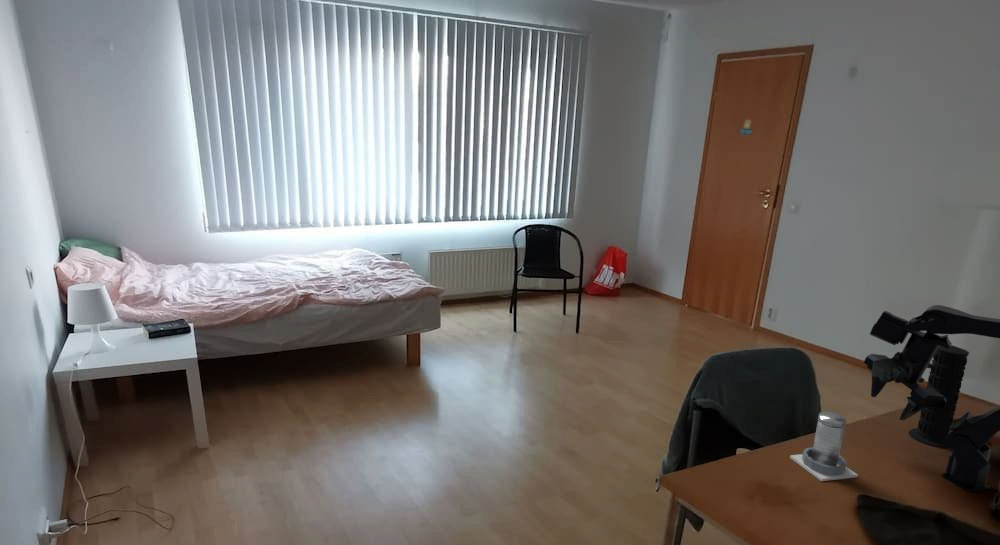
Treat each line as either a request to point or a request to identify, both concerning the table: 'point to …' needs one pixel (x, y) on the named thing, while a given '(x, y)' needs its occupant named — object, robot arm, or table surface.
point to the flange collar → (823, 467)
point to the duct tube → (828, 438)
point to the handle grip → (947, 383)
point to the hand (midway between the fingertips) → (886, 407)
